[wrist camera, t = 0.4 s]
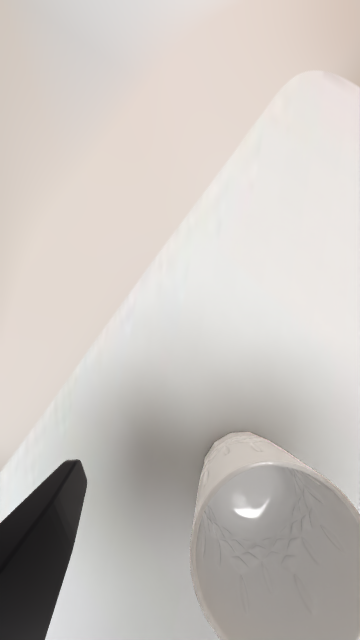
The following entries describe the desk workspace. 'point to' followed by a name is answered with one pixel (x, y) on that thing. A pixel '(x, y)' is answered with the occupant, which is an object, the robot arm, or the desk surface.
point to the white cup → (273, 546)
